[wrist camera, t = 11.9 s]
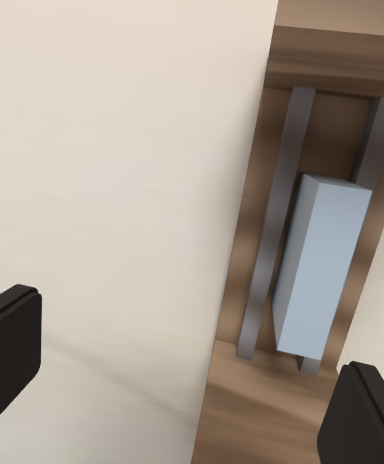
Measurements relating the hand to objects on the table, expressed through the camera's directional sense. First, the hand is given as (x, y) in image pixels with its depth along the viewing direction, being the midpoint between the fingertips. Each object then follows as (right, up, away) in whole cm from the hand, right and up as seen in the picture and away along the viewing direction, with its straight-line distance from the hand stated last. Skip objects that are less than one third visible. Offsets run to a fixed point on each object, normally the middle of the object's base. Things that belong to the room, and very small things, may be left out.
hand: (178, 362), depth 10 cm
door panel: (+10, +3, +18) cm, 21 cm away
